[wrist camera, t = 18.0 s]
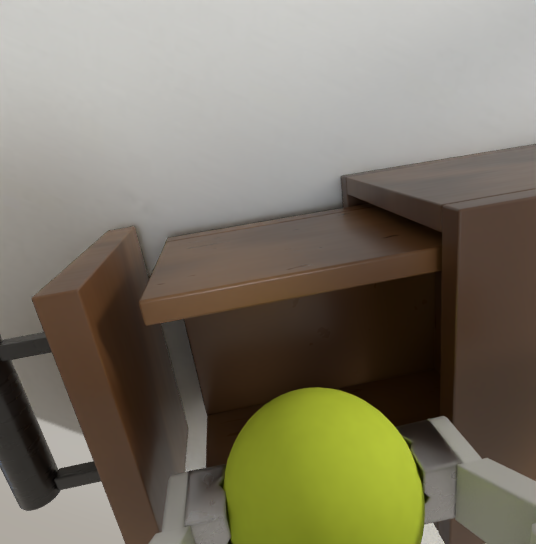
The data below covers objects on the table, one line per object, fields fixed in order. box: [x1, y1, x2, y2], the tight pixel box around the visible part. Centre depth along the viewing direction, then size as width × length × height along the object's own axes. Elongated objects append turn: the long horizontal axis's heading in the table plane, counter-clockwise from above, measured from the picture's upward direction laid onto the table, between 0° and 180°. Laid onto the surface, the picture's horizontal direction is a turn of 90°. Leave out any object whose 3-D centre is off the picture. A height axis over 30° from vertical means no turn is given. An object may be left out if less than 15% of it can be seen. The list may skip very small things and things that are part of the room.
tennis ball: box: [223, 387, 425, 544], centre depth 10 cm, size 5×5×5 cm
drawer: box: [0, 203, 442, 544], centre depth 16 cm, size 20×11×8 cm, turn 98°
